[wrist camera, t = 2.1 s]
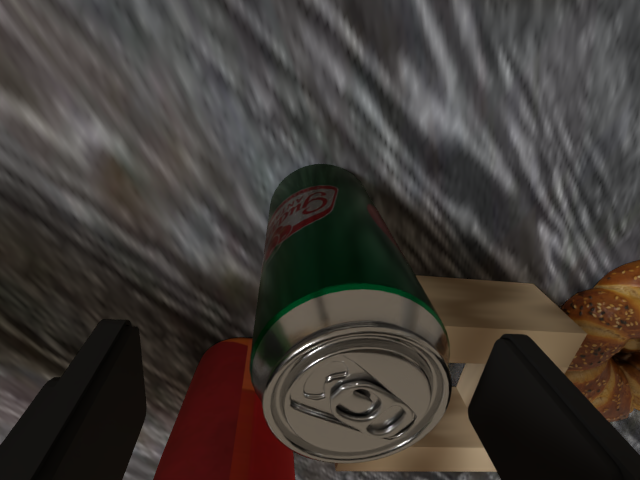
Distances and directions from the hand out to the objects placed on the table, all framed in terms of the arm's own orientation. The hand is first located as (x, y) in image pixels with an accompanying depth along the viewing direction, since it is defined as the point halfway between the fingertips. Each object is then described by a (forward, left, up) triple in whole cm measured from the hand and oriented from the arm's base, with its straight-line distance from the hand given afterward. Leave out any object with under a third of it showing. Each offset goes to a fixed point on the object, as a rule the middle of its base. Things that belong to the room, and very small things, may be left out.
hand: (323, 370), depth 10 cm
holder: (-9, +9, -11) cm, 16 cm away
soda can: (-1, 0, -11) cm, 11 cm away
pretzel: (-21, +6, -11) cm, 25 cm away
